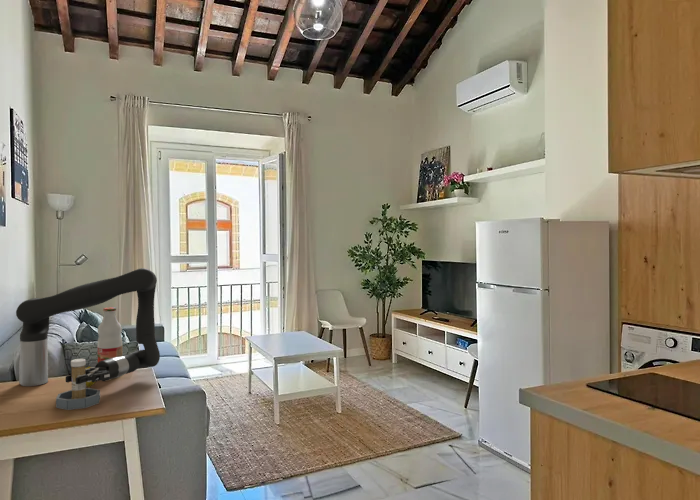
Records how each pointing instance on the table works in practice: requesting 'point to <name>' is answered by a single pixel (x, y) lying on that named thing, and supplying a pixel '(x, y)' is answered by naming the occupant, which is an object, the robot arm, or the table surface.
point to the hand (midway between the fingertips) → (71, 380)
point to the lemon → (90, 381)
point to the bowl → (77, 400)
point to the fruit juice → (109, 336)
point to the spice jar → (78, 371)
